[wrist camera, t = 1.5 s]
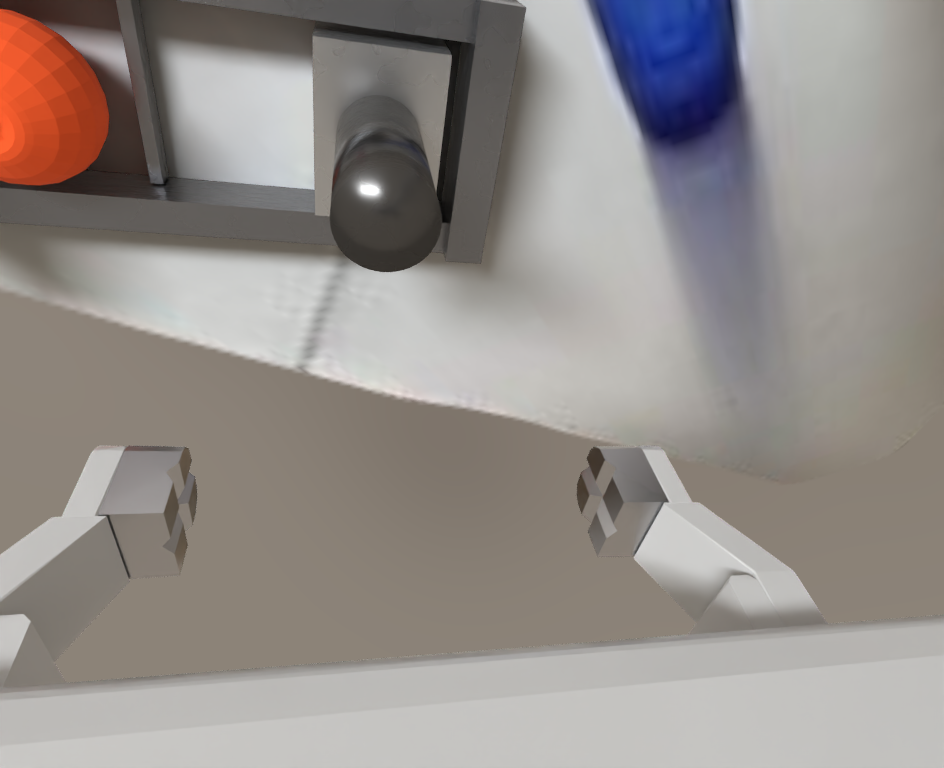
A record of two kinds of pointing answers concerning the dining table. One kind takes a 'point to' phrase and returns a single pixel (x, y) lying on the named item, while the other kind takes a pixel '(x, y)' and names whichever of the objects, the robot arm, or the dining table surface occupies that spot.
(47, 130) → the clementine
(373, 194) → the ram
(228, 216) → the press
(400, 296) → the dining table surface
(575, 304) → the dining table surface
